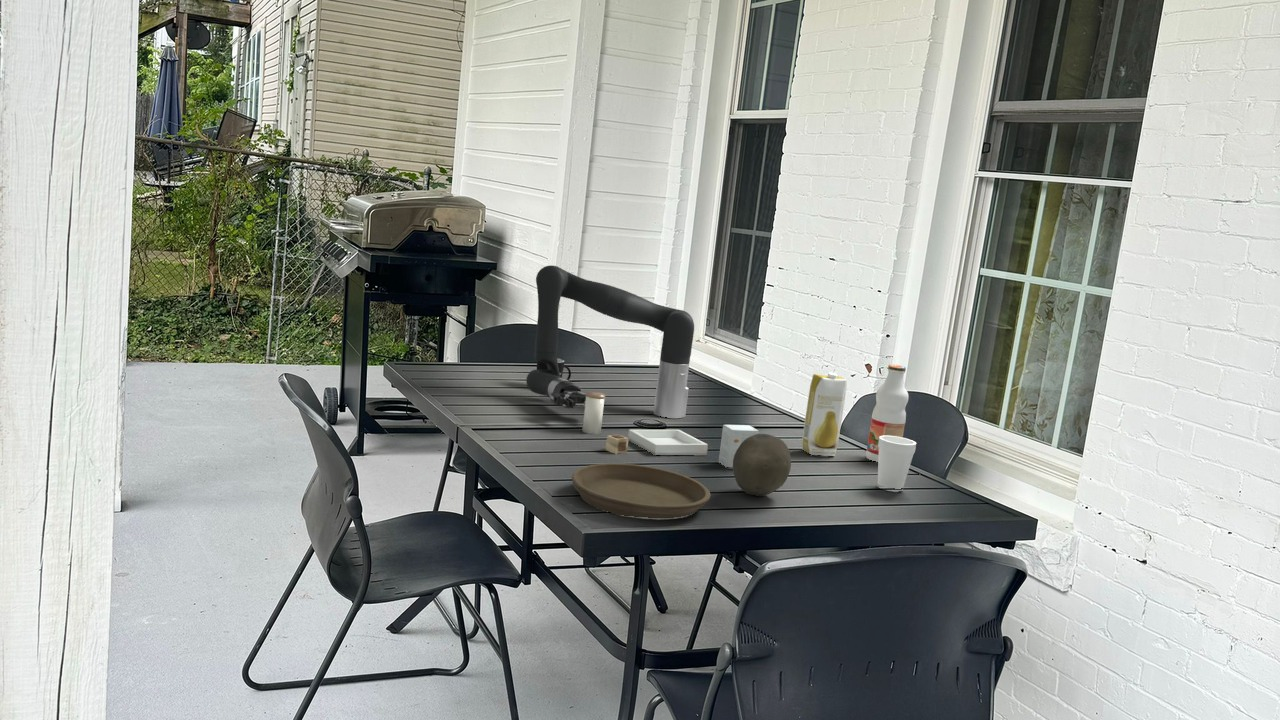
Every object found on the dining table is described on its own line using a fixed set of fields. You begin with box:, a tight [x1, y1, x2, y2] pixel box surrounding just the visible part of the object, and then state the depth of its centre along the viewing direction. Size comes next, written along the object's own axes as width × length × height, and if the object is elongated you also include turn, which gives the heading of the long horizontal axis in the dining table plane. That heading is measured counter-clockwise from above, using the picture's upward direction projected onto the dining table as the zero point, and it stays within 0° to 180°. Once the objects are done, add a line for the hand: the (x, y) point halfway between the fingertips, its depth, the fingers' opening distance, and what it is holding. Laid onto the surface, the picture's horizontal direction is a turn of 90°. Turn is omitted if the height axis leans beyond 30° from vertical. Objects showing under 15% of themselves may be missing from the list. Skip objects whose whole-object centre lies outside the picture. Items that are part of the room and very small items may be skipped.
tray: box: [627, 429, 709, 456], centre depth 279 cm, size 16×16×3 cm
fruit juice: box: [865, 364, 909, 463], centre depth 293 cm, size 9×9×28 cm
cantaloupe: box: [732, 433, 792, 497], centre depth 241 cm, size 14×14×15 cm
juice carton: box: [801, 372, 847, 457], centre depth 292 cm, size 9×8×24 cm
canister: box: [581, 391, 606, 435], centre depth 286 cm, size 5×5×11 cm
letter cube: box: [605, 434, 629, 455], centre depth 268 cm, size 4×4×4 cm
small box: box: [718, 424, 760, 468], centre depth 268 cm, size 8×6×10 cm
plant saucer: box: [571, 462, 711, 518], centre depth 227 cm, size 31×31×5 cm
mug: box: [536, 358, 572, 381], centre depth 339 cm, size 12×9×10 cm
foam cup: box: [877, 436, 917, 489], centre depth 264 cm, size 10×9×13 cm
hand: (586, 405), depth 290 cm, fingers open, 8 cm apart
